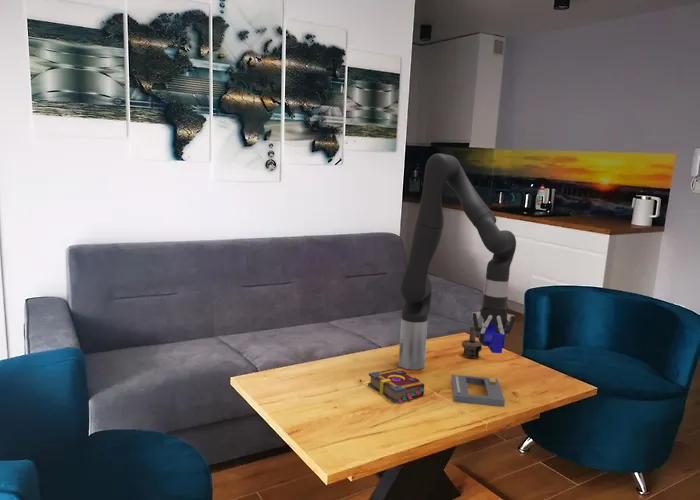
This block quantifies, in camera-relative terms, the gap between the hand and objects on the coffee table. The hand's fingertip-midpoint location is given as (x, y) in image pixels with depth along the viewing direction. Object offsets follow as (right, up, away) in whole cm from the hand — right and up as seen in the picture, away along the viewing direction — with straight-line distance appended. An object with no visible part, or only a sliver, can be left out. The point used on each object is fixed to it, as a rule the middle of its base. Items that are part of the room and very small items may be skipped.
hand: (490, 344), depth 177 cm
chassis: (-5, -15, -1) cm, 16 cm away
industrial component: (0, -10, +32) cm, 34 cm away
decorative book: (-30, -15, -3) cm, 34 cm away
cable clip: (0, -1, +1) cm, 1 cm away
